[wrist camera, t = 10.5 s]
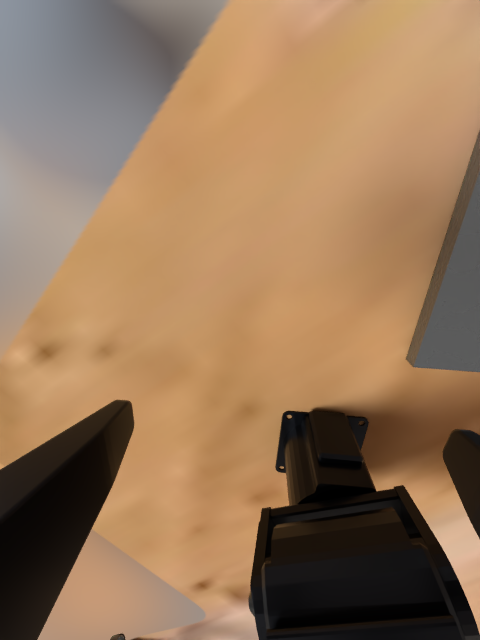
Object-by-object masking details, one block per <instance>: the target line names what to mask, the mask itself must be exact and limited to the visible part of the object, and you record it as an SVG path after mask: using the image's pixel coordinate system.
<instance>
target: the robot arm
mask: <svg viewBox="0 0 480 640" xmlns="http://www.w3.org/2000/svg"><path fill="white" fill-rule="evenodd" d="M287 415H291V416H292V418H290V419H288V418H286V416H287ZM360 421H364V422H365V423H364V424H362V425H360V424H358V423H359V422H360ZM368 423H369V422H368V420H367V419H366V418H365V417H356V416H346V415H345V414H344V413H333V412H321V411H310V412H309V413H308V412H296V411H286V412H284V413H283V415H282V422H281V430H280V437H279V445H278V452H277V459H276V470H277V471H278V472H281V473H286V477H287V487H288V498H289V506H285V507H279V508H273V509H271V507H269V508H263V509H262V512H261V519H260V522H259V526H258V533H257V540H256V548H255V555H254V562H253V569H252V576H251V585H250V586H251V591H250V594H249V609H250V611H251V613H252V614H253V615H254V617H255V620H256V627H257V632H258V637H259V640H480V634H479V631H478V628H477V624H476V622H475V619H474V616H473V613H472V611H471V608H470V606H469V603H468V601H467V598H466V596H465V594H464V591H463V589H462V587H461V585H460V582H459V580H458V578H457V576H456V574H455V572H454V570H453V568H452V566H451V564H450V562H449V560H448V558H447V556H446V554H445V552H444V551H443V549H442V547H441V545H440V544H439V542H438V540H437V539H436V537H435V536H434V534H433V532H432V531H431V529H430V527H429V526H428V524H427V523H426V521H425V519H424V518H423V516H422V515H421V513H420V511H419V510H418V508H417V506H416V505H415V503H414V502H413V500H412V498H411V497H410V495H409V494H408V492H407V490H406V489H405V487H404V486H403V485H402V486H396V487H394V489H389V490H383V491H376V489H375V486H374V484H373V481H372V479H371V476H370V474H369V471H368V469H367V466H366V464H365V461H364V459H363V455H362V453H361V448H362V444H363V441H364V437H365V434H366V431H367V427H368ZM133 429H134V417H133V409H132V404H131V402H130V401H127V400H115V401H113V402H111V403H110V404H108V405H106V406H105V407H103V408H101V409H100V410H98V411H96V412H95V413H93V414H92V415H90V416H88V417H87V418H85V419H83V420H82V421H80V422H78V423H77V424H75V425H73V426H72V427H70V428H68V429H67V430H65V431H63V432H62V433H60V434H58V435H57V436H55V437H54V438H52V439H50V440H49V441H47V442H45V443H44V444H42V445H40V446H39V447H37V448H35V449H34V450H32V451H30V452H29V453H27V454H25V455H24V456H22V457H20V458H19V459H17V460H16V461H14V462H12V463H11V464H9V465H7V466H6V467H4V468H2V469H1V470H0V640H37V639H38V637H39V635H40V633H41V631H42V629H43V627H44V625H45V623H46V621H47V619H48V616H49V615H50V613H51V611H52V608H53V606H54V604H55V602H56V600H57V598H58V596H59V594H60V592H61V590H62V588H63V586H64V584H65V582H66V580H67V578H68V576H69V574H70V572H71V569H72V568H73V565H74V564H75V562H76V559H77V557H78V555H79V553H80V551H81V549H82V547H83V545H84V543H85V541H86V539H87V537H88V535H89V533H90V531H91V529H92V527H93V525H94V523H95V521H96V519H97V517H98V515H99V513H100V510H101V508H102V506H103V504H104V502H105V500H106V498H107V496H108V494H109V492H110V490H111V488H112V485H113V483H114V481H115V478H116V476H117V473H118V470H119V468H120V465H121V462H122V459H123V457H124V454H125V451H126V449H127V446H128V443H129V441H130V438H131V435H132V433H133ZM443 459H444V462H445V464H446V467H447V469H448V471H449V474H450V476H451V478H452V480H453V483H454V485H455V487H456V490H457V492H458V494H459V497H460V499H461V501H462V504H463V506H464V508H465V510H466V513H467V515H468V517H469V519H470V521H471V523H472V525H473V527H474V529H475V531H476V533H477V535H478V537H479V538H480V435H478V434H477V433H475V432H473V431H470V430H460V429H456V430H453V431H452V432H451V434H450V436H449V438H448V441H447V443H446V445H445V447H444V449H443ZM280 466H283V467H284V469H279V467H280Z"/></svg>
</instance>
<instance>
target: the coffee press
mask: <svg viewBox="0 0 480 640" xmlns="http://www.w3.org/2000/svg"><path fill="white" fill-rule="evenodd" d="M110 640H125V636H124V634H118V635H114V636H112V637H111V639H110Z"/></svg>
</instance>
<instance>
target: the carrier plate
mask: <svg viewBox="0 0 480 640" xmlns="http://www.w3.org/2000/svg"><path fill="white" fill-rule="evenodd" d="M406 360H407V361H408V362H409V363H410V364H411V365H412V366H413V367H418V368H431V369H445V370H458V371H472V372H480V131H479V134H478V137H477V140H476V144H475V147H474V150H473V153H472V156H471V159H470V162H469V165H468V168H467V171H466V175H465V178H464V181H463V184H462V187H461V190H460V193H459V196H458V199H457V202H456V206H455V209H454V212H453V215H452V218H451V221H450V224H449V227H448V230H447V233H446V237H445V240H444V243H443V246H442V249H441V252H440V255H439V258H438V261H437V264H436V267H435V271H434V274H433V277H432V280H431V283H430V286H429V289H428V292H427V295H426V298H425V302H424V305H423V308H422V311H421V314H420V317H419V320H418V323H417V326H416V329H415V333H414V336H413V339H412V342H411V345H410V348H409V351H408V354H407V357H406Z"/></svg>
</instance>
